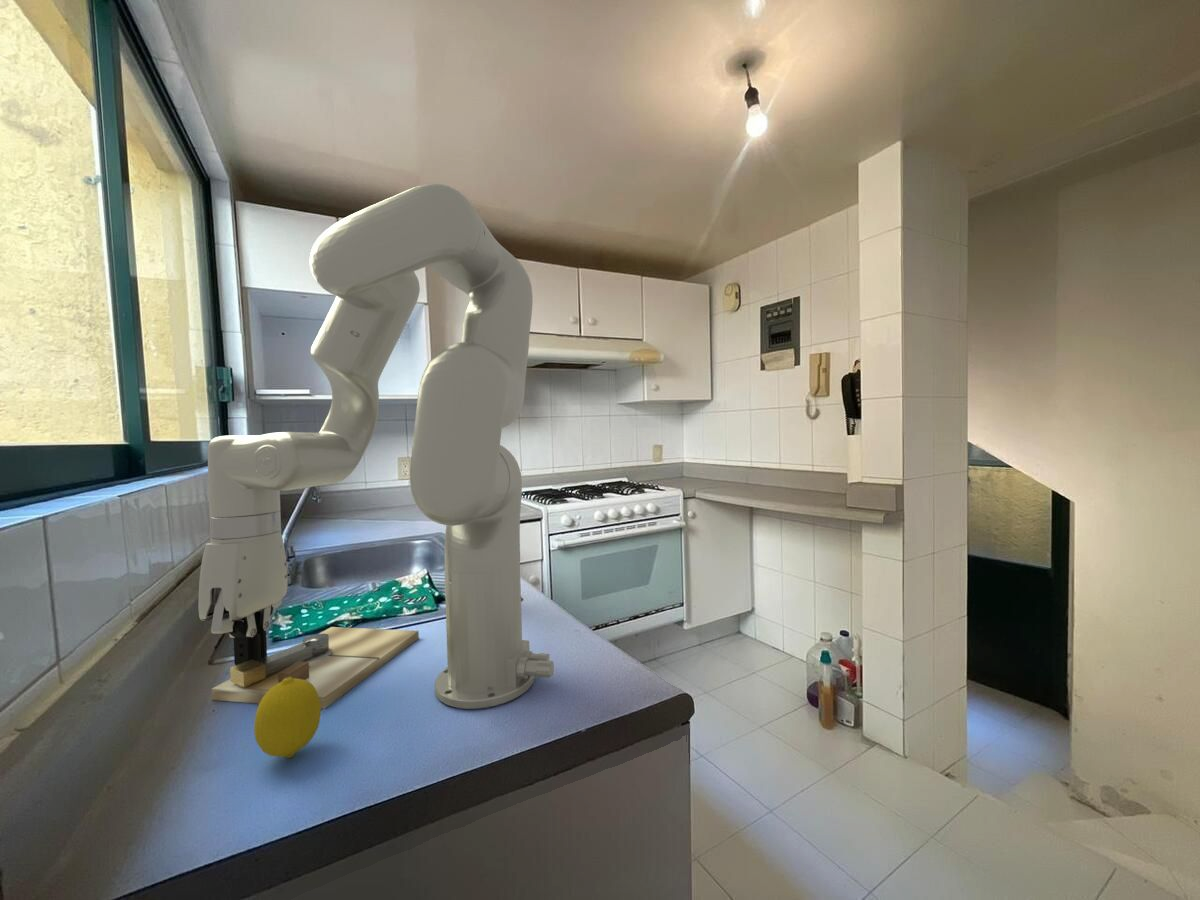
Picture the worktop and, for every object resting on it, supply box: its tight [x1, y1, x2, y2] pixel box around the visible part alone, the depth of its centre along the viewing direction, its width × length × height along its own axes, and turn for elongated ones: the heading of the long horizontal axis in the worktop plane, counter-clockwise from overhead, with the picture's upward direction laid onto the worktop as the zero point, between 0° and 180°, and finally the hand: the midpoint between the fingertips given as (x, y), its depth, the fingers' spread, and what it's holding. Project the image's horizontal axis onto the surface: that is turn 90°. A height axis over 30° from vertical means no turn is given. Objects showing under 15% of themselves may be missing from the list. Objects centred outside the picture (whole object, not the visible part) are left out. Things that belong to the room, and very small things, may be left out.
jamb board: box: [211, 626, 420, 710], centre depth 65 cm, size 16×20×3 cm
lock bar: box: [229, 633, 329, 687], centre depth 62 cm, size 11×3×2 cm, turn 153°
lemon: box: [253, 677, 322, 759], centre depth 46 cm, size 6×6×8 cm
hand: (251, 662), depth 61 cm, fingers closed
